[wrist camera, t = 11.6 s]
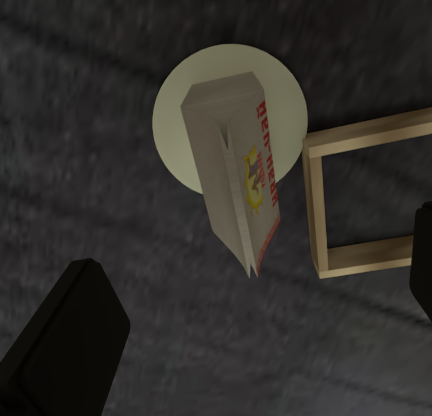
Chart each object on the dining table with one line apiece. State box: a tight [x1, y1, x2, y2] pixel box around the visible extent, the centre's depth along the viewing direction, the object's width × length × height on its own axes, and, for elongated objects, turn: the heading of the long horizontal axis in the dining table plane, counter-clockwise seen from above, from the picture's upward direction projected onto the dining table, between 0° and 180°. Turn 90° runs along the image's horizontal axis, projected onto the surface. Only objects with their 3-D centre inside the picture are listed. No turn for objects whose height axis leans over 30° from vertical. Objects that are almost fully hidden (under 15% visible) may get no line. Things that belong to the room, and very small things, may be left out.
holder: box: [301, 107, 432, 279], centre depth 22 cm, size 11×11×2 cm
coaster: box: [153, 44, 308, 194], centre depth 20 cm, size 10×10×1 cm
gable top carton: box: [180, 71, 280, 279], centre depth 16 cm, size 4×7×10 cm, turn 12°
